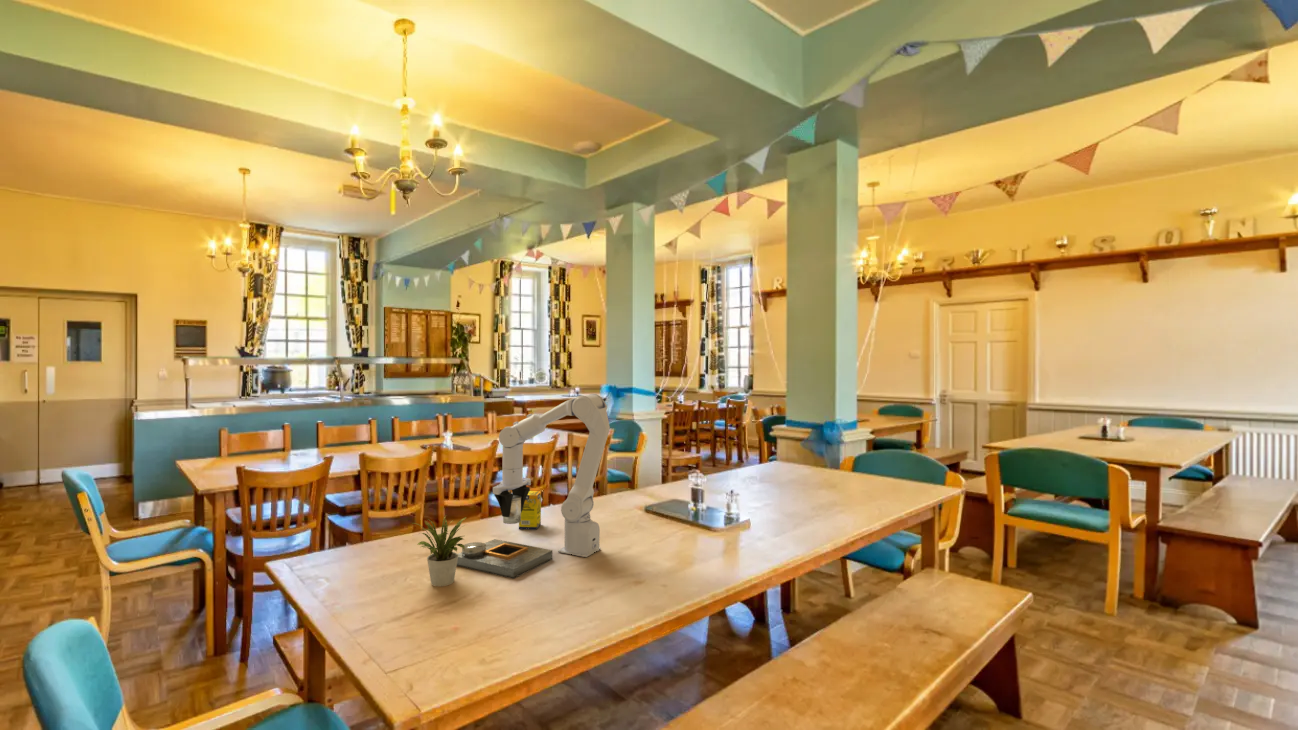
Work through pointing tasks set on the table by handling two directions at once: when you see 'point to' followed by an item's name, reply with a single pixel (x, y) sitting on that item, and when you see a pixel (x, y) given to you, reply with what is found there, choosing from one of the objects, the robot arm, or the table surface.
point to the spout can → (514, 511)
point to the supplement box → (531, 511)
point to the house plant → (442, 553)
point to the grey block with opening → (502, 557)
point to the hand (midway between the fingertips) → (512, 514)
